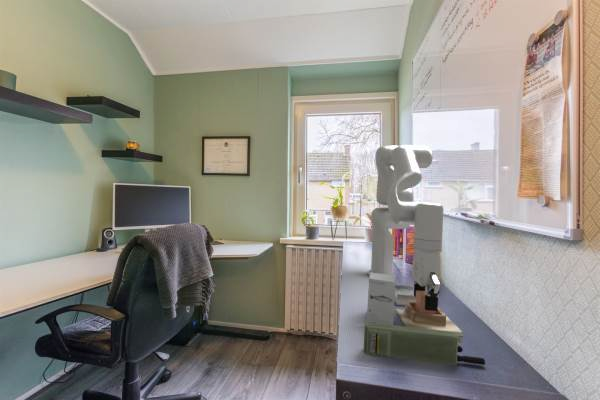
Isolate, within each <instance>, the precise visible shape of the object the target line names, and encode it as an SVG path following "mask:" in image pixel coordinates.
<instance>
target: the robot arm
mask: <svg viewBox="0 0 600 400" xmlns="http://www.w3.org/2000/svg"><path fill="white" fill-rule="evenodd" d="M433 158H434V157H433V152H432V150H431V148H429V146H426V145H416V144H415V145H412V144H402V145H401V144H400V145H382V146H379V147H378V148H377V149H376V151H375V157H374V159H375V166H376V170H377V182H376V183H377V184H376V195H375V196H376V202H377V203H378V205H383V206H387V207H377V208H374V209H373V210H372V211H371V214H370V219H371V230H372V232H371V233H372V235H371V236H372V238H371V239H372V240H371V241H372V242H371V262H370V263H371V265H370V267H371V268H370V270H368V271H367V275H368V276H369V277H370V273H371V272H372V273H379V274H386V275H394V276H396V277H397V275H396V273H395V272H394V271H393V269H394V247H395V246H394V245H395V243H394V242H395V241H394V240H395V238H394V236H393V234H392V233H391V232H390V230H389V229H393V230H394V229H395V230H397V229H398V230H405V229H408V228H409V227H410V226H413V242H412V243H413V246H412V248H413V250H414V251H413V254H412V255H413V256H412V266H411V278H412V280H413V290H414V296H415V297H416V291H426V293H427V295H425V310H429V311H437V310H438V307H439V297H440V295H439V294H440V289H441V283H440V282H441V281H440V280H441V260H440V259H441V257H440V253H442V250H443V249H442V247H443V232H444V231H443V227H444V207H443V205H442V204H441V203H438V202H437V203H436V202H427V201H414V198H415V196H414V190H413V188H415V187H416V186H418V185H419V184H420V183H421V181H422V179H423V176H422V172H421V169H426V168H429V167H430V165H432V162H433Z"/></svg>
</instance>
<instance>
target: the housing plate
mask: <svg viewBox="0 0 600 400" xmlns="http://www.w3.org/2000/svg"><path fill="white" fill-rule="evenodd" d="M406 302H416V297H415V296H414V285H412V284H400V283H399V284H398V283H396V284H395V302H394V304H395V305H396V306H403V307H405V303H406Z"/></svg>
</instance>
